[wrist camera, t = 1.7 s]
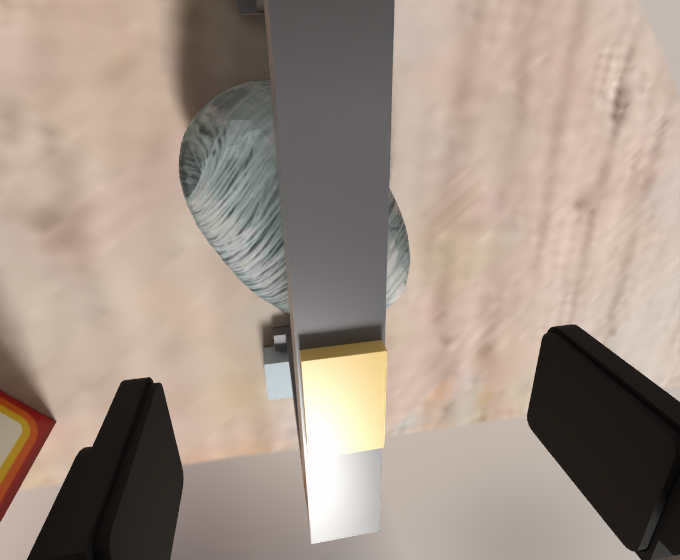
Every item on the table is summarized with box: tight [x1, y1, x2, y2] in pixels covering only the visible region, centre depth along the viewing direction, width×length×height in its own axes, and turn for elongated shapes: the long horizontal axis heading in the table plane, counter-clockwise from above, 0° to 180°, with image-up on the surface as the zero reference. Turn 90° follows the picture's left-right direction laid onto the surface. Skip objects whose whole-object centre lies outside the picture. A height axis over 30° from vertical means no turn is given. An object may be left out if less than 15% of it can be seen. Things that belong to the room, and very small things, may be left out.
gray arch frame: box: [238, 0, 394, 544], centre depth 19 cm, size 21×4×15 cm, turn 1°
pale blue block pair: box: [263, 346, 293, 400], centre depth 25 cm, size 27×6×2 cm, turn 1°
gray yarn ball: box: [179, 80, 410, 314], centre depth 23 cm, size 14×10×10 cm
